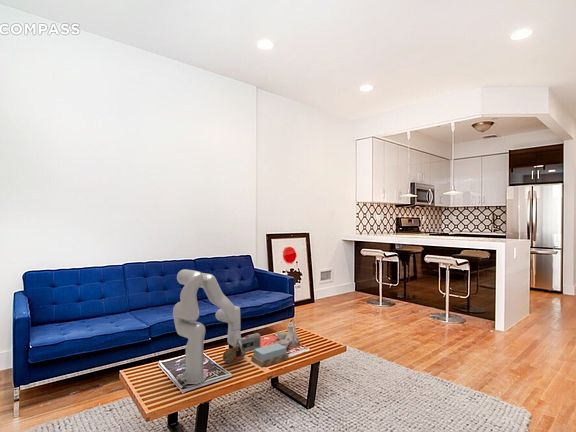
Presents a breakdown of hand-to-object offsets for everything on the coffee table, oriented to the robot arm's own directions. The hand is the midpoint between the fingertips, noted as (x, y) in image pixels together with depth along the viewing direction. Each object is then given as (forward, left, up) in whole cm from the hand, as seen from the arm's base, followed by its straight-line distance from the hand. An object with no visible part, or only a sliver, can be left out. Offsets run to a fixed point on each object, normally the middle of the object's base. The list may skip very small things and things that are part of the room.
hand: (234, 353), depth 213 cm
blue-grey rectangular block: (+18, -12, -1) cm, 22 cm away
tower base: (+18, -12, -5) cm, 23 cm away
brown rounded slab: (-1, 0, -5) cm, 5 cm away
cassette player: (+16, +10, -5) cm, 20 cm away
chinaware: (+43, +3, -5) cm, 43 cm away
